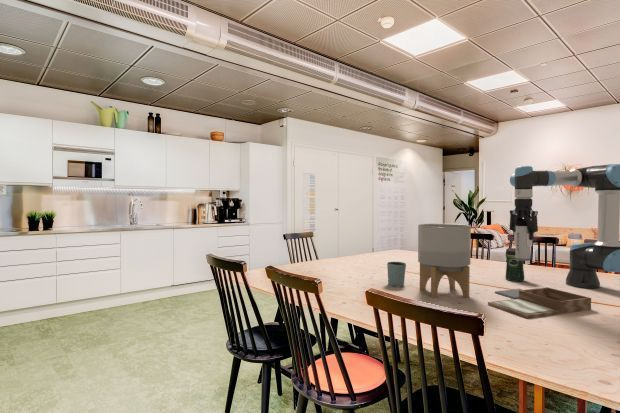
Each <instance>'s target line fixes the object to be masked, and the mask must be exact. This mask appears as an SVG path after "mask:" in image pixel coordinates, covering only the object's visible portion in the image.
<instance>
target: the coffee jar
mask: <svg viewBox="0 0 620 413" xmlns="http://www.w3.org/2000/svg"><path fill="white" fill-rule="evenodd" d="M504 255H505V258H506V266H505V267H506V268H505V276H504V277H505V279H506V280H507V281H512V282H523V281H525V269H524V261H519V260H516V259H515V257H516V247H509V248H508V247H507V248H506V250H505V254H504Z"/></svg>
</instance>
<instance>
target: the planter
mask: <svg viewBox="0 0 620 413" xmlns="http://www.w3.org/2000/svg"><path fill="white" fill-rule="evenodd" d="M417 226H418V227H417V230H418V231H417V238H418V239H417V261H418V263H419V290H423V291H425V290H426V289H427V284H428V281H429V280H430V298H432V299H436V298H437V297H438V288H439V284H440V282H441V280H442V278H443V277H444V276H446V277H447V279H448V284H449V289H450V290H455V289H456V283H457V284H458V285H459V287H460V289H461V292H462V297H463V298H467V299H468V298H470V276H471V275H470V274H471V273H470V269H471V268H470V266H471V249H472V248H471V245H472V244H471V241H472V240H471V233H472V232H471V231H472V228H471V227H472V226H471V225H469V224H460V223H420V224H418V225H417Z"/></svg>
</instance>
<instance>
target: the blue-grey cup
mask: <svg viewBox="0 0 620 413" xmlns="http://www.w3.org/2000/svg"><path fill="white" fill-rule="evenodd" d="M386 265H387V285H388V286H391V287H404V286H405V278H406V277H405V276H406V267H407V263H405V262H401V261H387V262H386Z"/></svg>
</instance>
